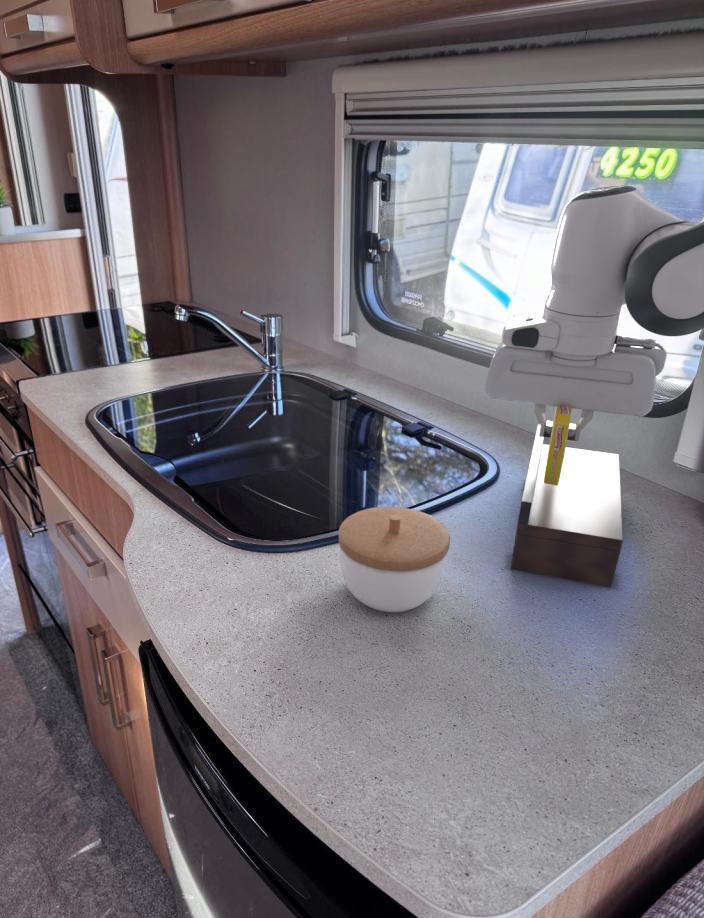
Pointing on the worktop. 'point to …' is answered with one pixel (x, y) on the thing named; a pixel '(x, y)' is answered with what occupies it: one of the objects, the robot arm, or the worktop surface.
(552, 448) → the candy box
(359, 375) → the worktop surface
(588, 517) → the box with raised back
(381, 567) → the lidded bowl
